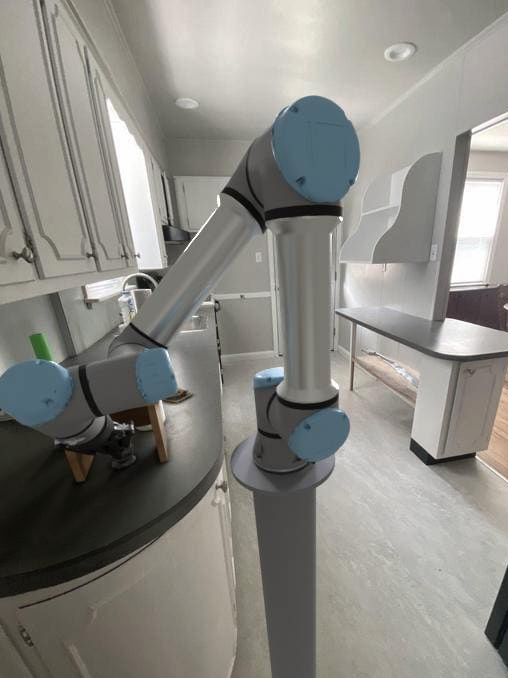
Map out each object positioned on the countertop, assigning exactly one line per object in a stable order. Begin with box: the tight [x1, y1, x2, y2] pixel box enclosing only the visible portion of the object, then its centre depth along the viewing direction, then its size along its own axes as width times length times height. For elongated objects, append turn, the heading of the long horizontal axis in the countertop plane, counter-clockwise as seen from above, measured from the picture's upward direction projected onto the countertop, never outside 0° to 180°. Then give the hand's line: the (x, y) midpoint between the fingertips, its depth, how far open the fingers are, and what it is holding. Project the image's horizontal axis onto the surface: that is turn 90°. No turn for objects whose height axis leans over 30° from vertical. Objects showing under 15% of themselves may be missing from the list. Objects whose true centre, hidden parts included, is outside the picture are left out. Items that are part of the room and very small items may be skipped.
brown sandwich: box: [162, 387, 194, 404], centre depth 108 cm, size 11×8×4 cm
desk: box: [64, 401, 169, 483], centre depth 72 cm, size 10×21×17 cm, turn 111°
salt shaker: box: [107, 419, 137, 469], centre depth 72 cm, size 6×6×12 cm
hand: (119, 452), depth 69 cm, fingers closed
